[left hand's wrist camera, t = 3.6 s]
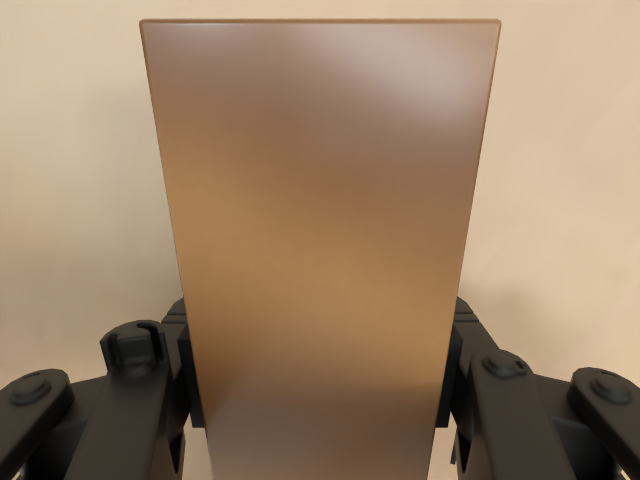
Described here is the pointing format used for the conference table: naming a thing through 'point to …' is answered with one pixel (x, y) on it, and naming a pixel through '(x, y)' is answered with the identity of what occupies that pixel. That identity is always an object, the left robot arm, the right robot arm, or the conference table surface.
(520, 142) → the conference table surface
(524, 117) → the conference table surface
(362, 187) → the beam
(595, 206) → the conference table surface
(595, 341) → the conference table surface
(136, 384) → the left robot arm
